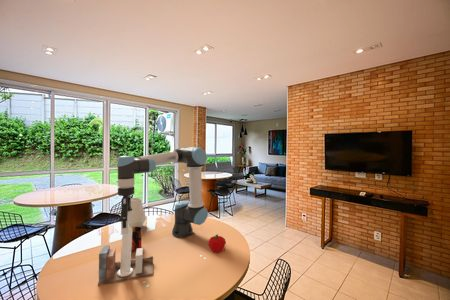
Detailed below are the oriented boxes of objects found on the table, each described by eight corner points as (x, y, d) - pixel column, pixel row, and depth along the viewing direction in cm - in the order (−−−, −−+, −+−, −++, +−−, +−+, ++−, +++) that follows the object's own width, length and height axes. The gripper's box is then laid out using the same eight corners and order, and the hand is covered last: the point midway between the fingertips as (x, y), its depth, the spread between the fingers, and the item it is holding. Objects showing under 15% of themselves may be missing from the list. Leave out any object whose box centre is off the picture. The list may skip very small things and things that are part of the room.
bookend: (142, 264, 107) (142, 247, 107) (141, 272, 100) (142, 254, 100) (136, 265, 106) (136, 248, 106) (135, 274, 99) (135, 255, 99)
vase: (130, 223, 169) (130, 195, 169) (149, 224, 166) (150, 196, 166) (116, 231, 152) (117, 201, 151) (138, 233, 149) (138, 202, 149)
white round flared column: (116, 278, 96) (119, 225, 96) (117, 269, 102) (120, 220, 103) (132, 275, 98) (135, 224, 99) (133, 267, 105) (135, 219, 105)
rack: (152, 263, 111) (153, 238, 111) (153, 275, 100) (153, 247, 100) (103, 271, 102) (103, 244, 102) (97, 285, 92) (98, 255, 92)
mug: (140, 254, 120) (140, 234, 120) (121, 251, 123) (121, 231, 123) (150, 246, 129) (150, 228, 129) (132, 243, 133) (132, 225, 132)
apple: (215, 244, 133) (215, 229, 133) (228, 249, 127) (228, 233, 127) (205, 251, 125) (205, 235, 125) (218, 256, 119) (218, 239, 119)
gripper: (121, 182, 111) (121, 220, 111) (113, 192, 87) (113, 240, 88) (136, 182, 113) (136, 219, 114) (131, 191, 90) (132, 238, 90)
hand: (126, 228), depth 101 cm, fingers open, 13 cm apart
